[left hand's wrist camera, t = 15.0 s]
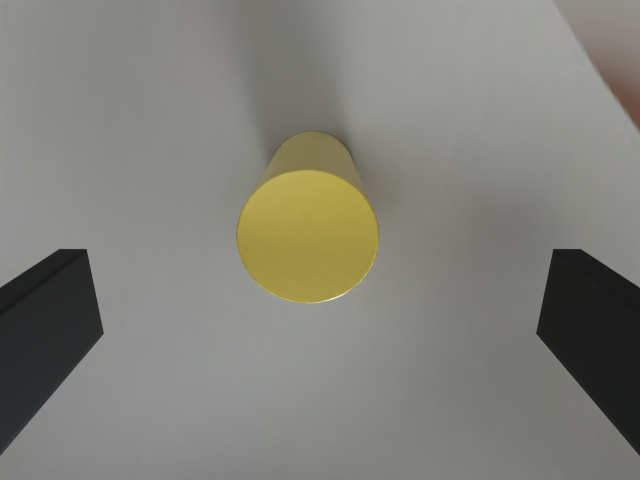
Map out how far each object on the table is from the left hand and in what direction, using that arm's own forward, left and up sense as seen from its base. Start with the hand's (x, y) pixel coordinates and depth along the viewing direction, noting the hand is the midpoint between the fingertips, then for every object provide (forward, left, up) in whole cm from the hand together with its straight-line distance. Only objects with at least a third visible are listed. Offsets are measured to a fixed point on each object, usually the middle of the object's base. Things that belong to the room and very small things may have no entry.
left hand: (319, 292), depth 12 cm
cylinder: (0, 0, -16) cm, 16 cm away
